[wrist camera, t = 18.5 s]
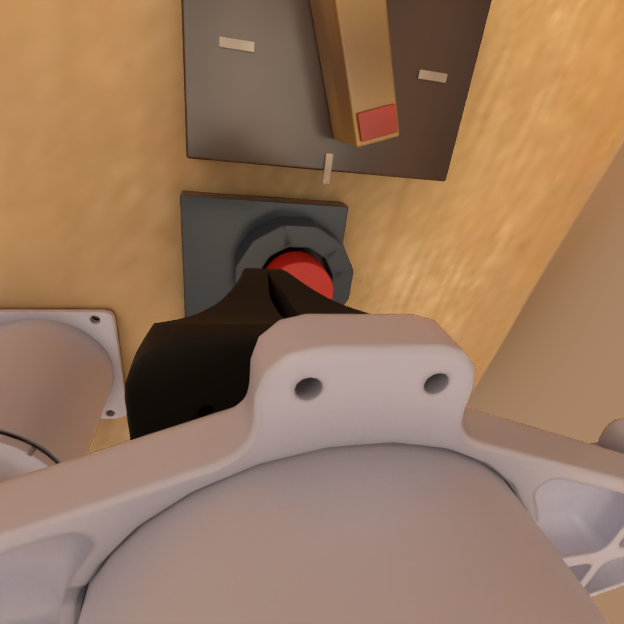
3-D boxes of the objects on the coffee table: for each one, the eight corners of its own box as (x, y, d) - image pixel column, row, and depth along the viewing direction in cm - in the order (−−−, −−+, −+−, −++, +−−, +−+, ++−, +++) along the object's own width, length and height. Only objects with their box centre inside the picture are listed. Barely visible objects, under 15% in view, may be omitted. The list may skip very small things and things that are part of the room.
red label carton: (304, -23, 15) (328, -57, 12) (348, -33, 15) (383, -69, 12) (333, 140, 18) (358, 148, 15) (369, 130, 18) (402, 136, 15)
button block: (187, 322, 24) (183, 347, 22) (181, 190, 21) (176, 202, 18) (329, 321, 26) (341, 344, 24) (346, 202, 23) (363, 214, 20)
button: (260, 310, 22) (263, 325, 20) (263, 249, 20) (267, 260, 19) (321, 310, 23) (328, 324, 21) (329, 251, 21) (338, 263, 20)
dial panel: (190, 163, 20) (186, 172, 17) (182, -107, 15) (175, -152, 13) (417, 183, 23) (444, 193, 20) (467, -37, 19) (510, -61, 16)
